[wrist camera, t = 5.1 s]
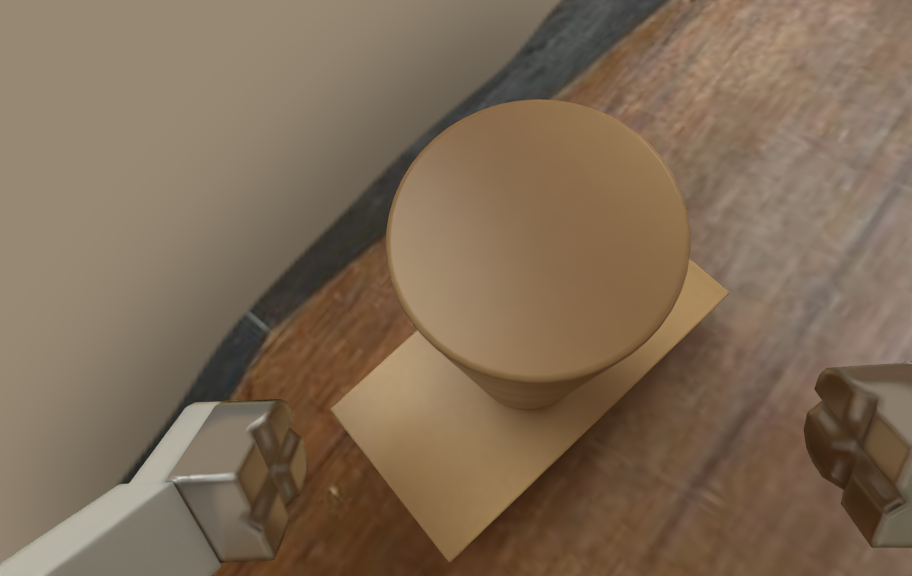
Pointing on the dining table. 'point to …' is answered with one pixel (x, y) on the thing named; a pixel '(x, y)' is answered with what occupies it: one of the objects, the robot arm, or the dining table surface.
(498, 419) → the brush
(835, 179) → the dining table surface
